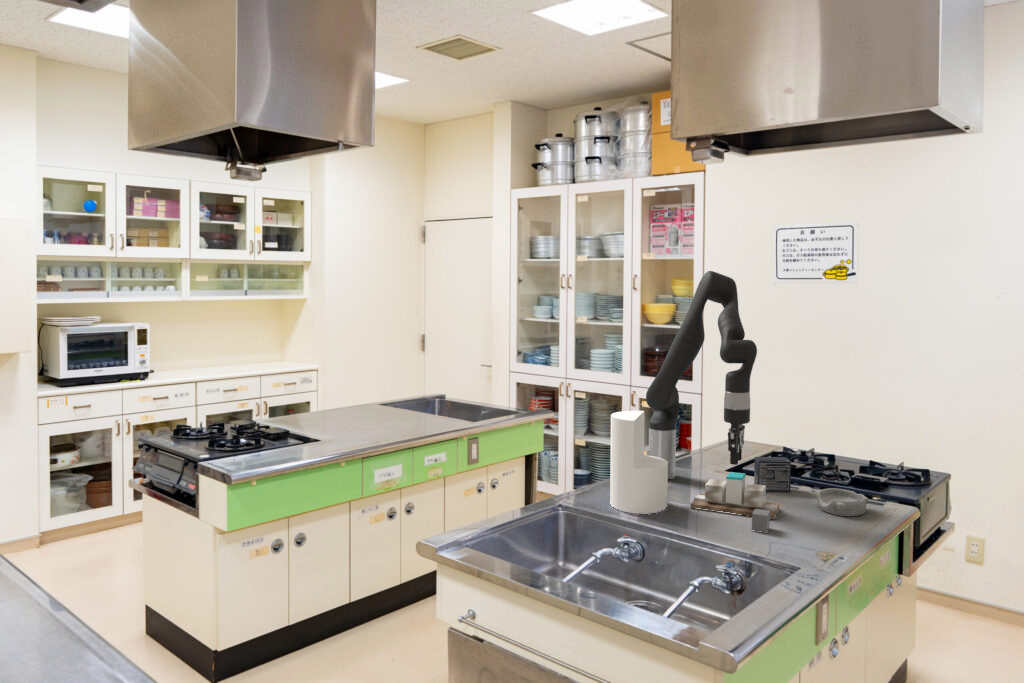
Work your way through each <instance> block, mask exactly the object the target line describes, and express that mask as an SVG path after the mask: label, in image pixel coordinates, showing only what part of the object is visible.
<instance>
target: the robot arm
mask: <svg viewBox="0 0 1024 683" xmlns="http://www.w3.org/2000/svg"><path fill="white" fill-rule="evenodd" d="M738 298H739V297H738V287H737V284H736V280H734V278H732V277H730V276H728V275H724V274H721V273H719V272H716V271H713V270H707V272H705V273H704V274H703V275H702V276H701V279H700V281H699V283H698V285H697V287H696V290H695V293H694V295H693V298H692V301H691V303H690V306H689V308H688V311H687V313H686V315H685V316H684V319H683V321H682V323H681V325H680V326H679V329H678V330H677V333H676V334H675V337H674V339H673V341H672V343H671V345H670V347H669V350H668V352H667V354H666V356H665V358H664V360H663V363H662V365H661V367H660V368H659V371H658V372H657V374H656V376H655V378H654V379H653V381H652V383H650V386H649V387H648V389H647V390H646V393H645V399H646V404H647V405H648V407H649V408H650V409H651V410H653V412H652V416H651V417H650V418H649V420H648V449H647V450H646V455H647V456H654V457H659V458H662V459H664V460H666V461H667V462H668V477H667V480H673V479H675V478H676V452H677V451H676V449H677V447H676V444H677V443H676V442H677V439H676V438H677V435H676V434H677V428H676V427H677V422H678V419H679V407H680V406H679V405H680V403H679V402H680V396H679V390H678V388H677V384H678V381H679V380H680V378H681V377H682V376H683V375H684V373H685V372H686V370H688V368H689V367H690V366H691V365H692V364H693V362H694V361H695V359H696V358H697V357H698V355H699V352H700V350H701V348H702V346H703V345H704V342H705V326H704V317H703V316H704V309H705V307H706V305H707V304H706V303H707V302H708V301H711V302H712V303H713V302H714V303H717V304H721V305H722V308H723V309H722V311H721V312H720V313H719V315H718V318H717V327H718V331H719V334H720V338H721V339H720V340H721V342H720V349H719V356H720V359H721V360H722V361H723V362H724V363H725V364H741V366H740V367H739V368H738V369H736V370H735V369H734V370H732V371H728V372H727V373H726V374H725V382H724V383H725V385H724V386H725V387H724V388H725V390H724V398H723V421H724V422H725V423H728V424H730V428H728V433H727V447H728V448H727V450H728V451H729V452H730V454H729V457H730V458H729V464H730V465H735V466H737V465H738V464H739V462H740V461H742V457H743V454H742V453H743V452H742V451H743V447H744V444H745V432H746V431H745V430H746V424H749V423H750V422H751V391H750V390H751V375H752V371H753V368H754V364H755V362H756V358H757V354H758V348H757V345H756V343H755V342H754V341H753V340H751V339H745V335H746V334H745V328H744V326H743V323H742V319H741V317H740V311H739V299H738Z"/></svg>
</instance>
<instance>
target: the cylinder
mask: <svg viewBox="0 0 1024 683" xmlns="http://www.w3.org/2000/svg"><path fill="white" fill-rule="evenodd" d="M609 460H610V462H609V463H610V464H609V465H610V467H609V468H610V469H609V470H610V474H609V476H610V478H609V479H610V481H609V482H610V484H609V486H610V487H609V488H610V489H609V490H610V491H609V494H610V495H609V498H610V499H609V505H610V504H611V506H612V507H614V508H616V509H619V510H622V511H626V512H634V513H635V512H638V513H649V512H657V511H661V510H664V509H665V508H666V507H667V508H668V479H667V477H668V462H667V461H666V460H664V459H662V458H659V457H654V456H647V454H645V410H623V411H622V410H621V411H616V412H613V413H611V414H610V459H609ZM611 506H610V507H611ZM612 507H611V508H612Z"/></svg>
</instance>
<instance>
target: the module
mask: <svg viewBox="0 0 1024 683" xmlns="http://www.w3.org/2000/svg"><path fill="white" fill-rule="evenodd" d="M725 478H726V480H725V481H726V503H732V504H739V505H741V504H742V503H743V501H744V489H745V488H746V473H742V472H733V471H730V472H729V473H728V474H727V475H726V477H725Z"/></svg>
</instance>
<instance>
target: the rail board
mask: <svg viewBox="0 0 1024 683" xmlns="http://www.w3.org/2000/svg"><path fill="white" fill-rule="evenodd" d="M766 493H767V492H766V485H758V484H754V483H748V484H747V485H745V489H744V501H743V503H742V504H741V505H739V504H732V503H726V480H724V479H713V478H710V479H709V480H708V481H706V483H705V484H704V493H699V494H696V495H694V497H693V500H692V502H691V503H690V509H691V508H701V509H708V510H714V511H723V512H730V513H736V514H741V515H748V516H752V513H753V511H754V510H755V509H761V510H769V511H770V519H774V520H775V518H776V516H777V514H778V512H779V510H780V505H781V504H780V503H776V502H769V501H766V497H767V496H766ZM775 515H776V516H775ZM748 516H747V517H748ZM774 517H775V518H774Z"/></svg>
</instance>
